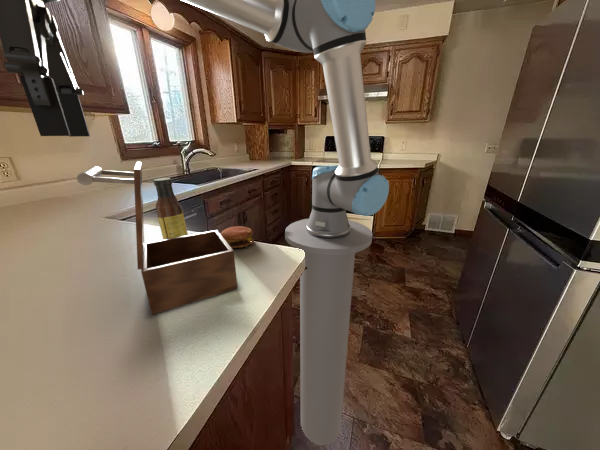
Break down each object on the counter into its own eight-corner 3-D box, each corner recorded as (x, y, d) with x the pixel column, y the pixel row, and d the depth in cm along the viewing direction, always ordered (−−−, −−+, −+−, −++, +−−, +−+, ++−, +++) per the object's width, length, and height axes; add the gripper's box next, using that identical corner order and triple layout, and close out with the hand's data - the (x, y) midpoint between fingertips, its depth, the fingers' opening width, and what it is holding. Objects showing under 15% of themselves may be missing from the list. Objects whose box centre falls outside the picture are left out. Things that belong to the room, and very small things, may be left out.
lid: (141, 162, 47) (90, 157, 43) (140, 169, 36) (71, 163, 32) (144, 241, 52) (97, 243, 48) (143, 269, 41) (83, 275, 37)
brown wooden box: (221, 261, 62) (217, 229, 59) (237, 288, 51) (233, 250, 48) (150, 279, 55) (142, 243, 52) (152, 314, 44) (141, 271, 41)
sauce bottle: (194, 245, 72) (183, 177, 65) (181, 254, 66) (167, 181, 59) (174, 243, 73) (161, 176, 66) (159, 252, 67) (143, 180, 60)
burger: (224, 237, 77) (222, 223, 75) (254, 236, 78) (253, 222, 76) (218, 251, 68) (216, 236, 66) (252, 249, 69) (251, 234, 67)
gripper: (12, -10, 37) (60, 136, 45) (-144, -183, 17) (-11, 136, 25) (75, 2, 41) (110, 136, 48) (7, -129, 21) (84, 135, 28)
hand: (69, 136), depth 36 cm, fingers open, 13 cm apart
